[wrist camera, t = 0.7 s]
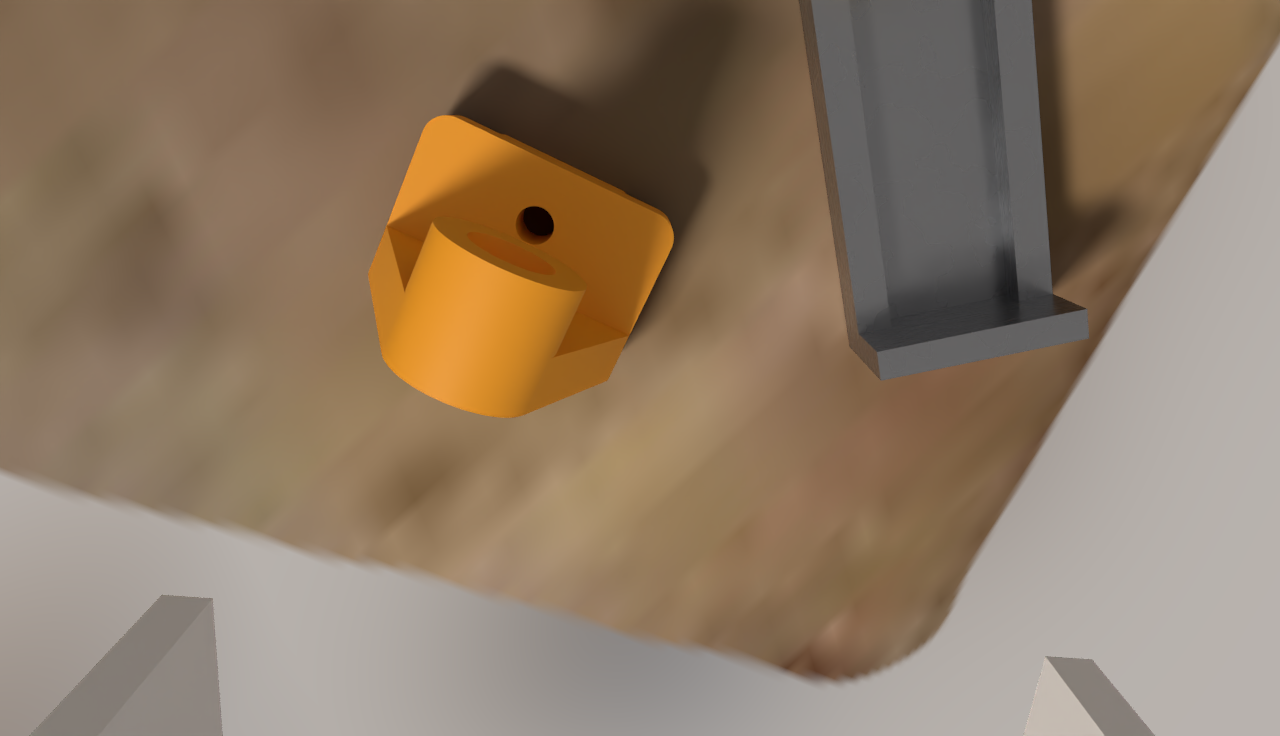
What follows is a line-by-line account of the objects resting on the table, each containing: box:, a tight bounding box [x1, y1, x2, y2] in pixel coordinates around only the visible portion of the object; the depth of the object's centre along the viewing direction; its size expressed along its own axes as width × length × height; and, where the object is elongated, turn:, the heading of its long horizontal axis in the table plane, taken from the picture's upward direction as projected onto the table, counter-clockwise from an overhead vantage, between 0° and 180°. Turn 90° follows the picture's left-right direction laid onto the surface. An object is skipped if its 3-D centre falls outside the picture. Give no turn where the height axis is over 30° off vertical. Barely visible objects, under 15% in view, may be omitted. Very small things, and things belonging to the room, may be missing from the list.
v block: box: [799, 0, 1089, 380], centre depth 33 cm, size 17×8×5 cm, turn 12°
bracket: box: [368, 115, 674, 418], centre depth 31 cm, size 11×7×12 cm, turn 65°
